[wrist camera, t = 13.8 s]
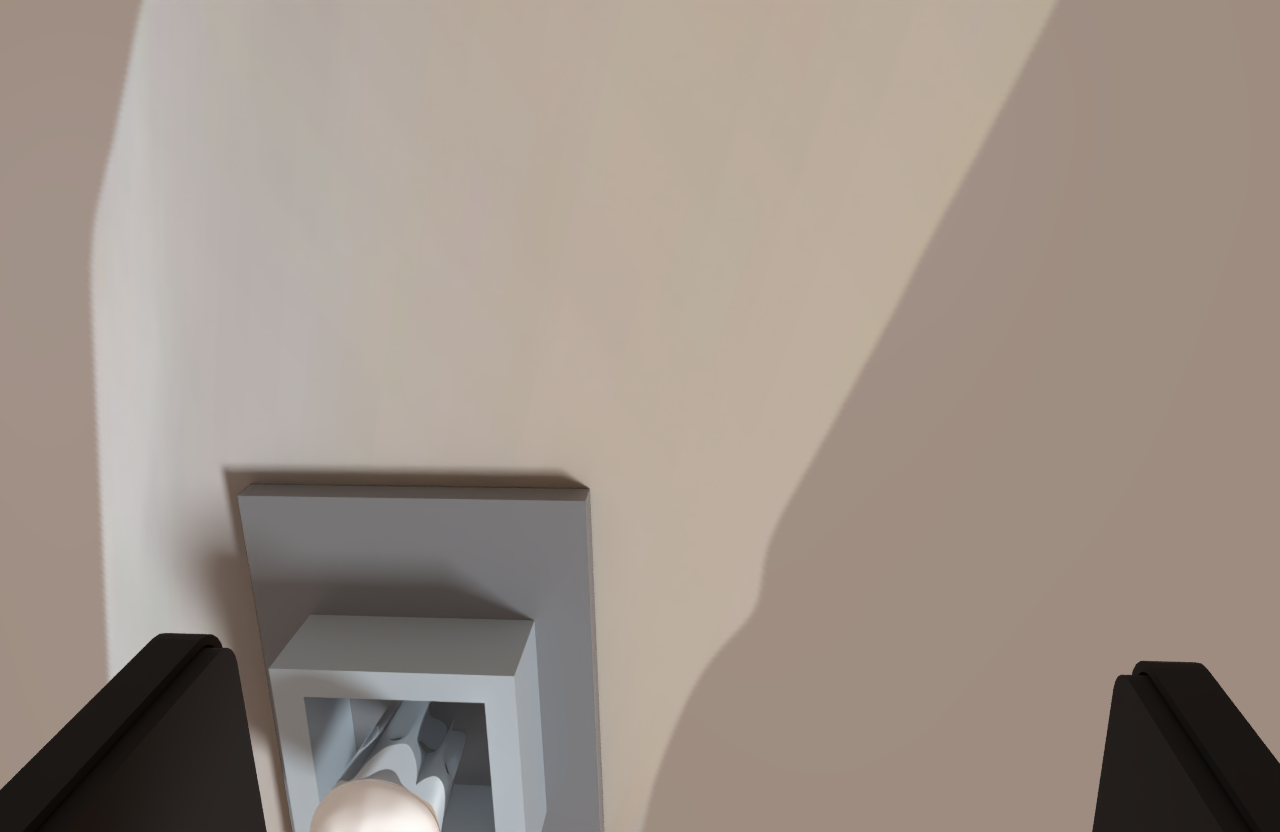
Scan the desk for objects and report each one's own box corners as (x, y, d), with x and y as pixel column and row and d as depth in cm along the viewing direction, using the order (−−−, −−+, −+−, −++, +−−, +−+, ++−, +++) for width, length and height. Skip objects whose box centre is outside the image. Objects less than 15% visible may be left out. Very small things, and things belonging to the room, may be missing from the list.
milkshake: (420, 772, 45) (336, 963, 35) (368, 671, 43) (265, 841, 34) (515, 747, 44) (455, 936, 34) (465, 642, 42) (387, 809, 33)
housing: (250, 483, 42) (187, 540, 37) (589, 488, 41) (569, 547, 36) (312, 874, 49) (265, 965, 44) (606, 889, 48) (591, 985, 43)
